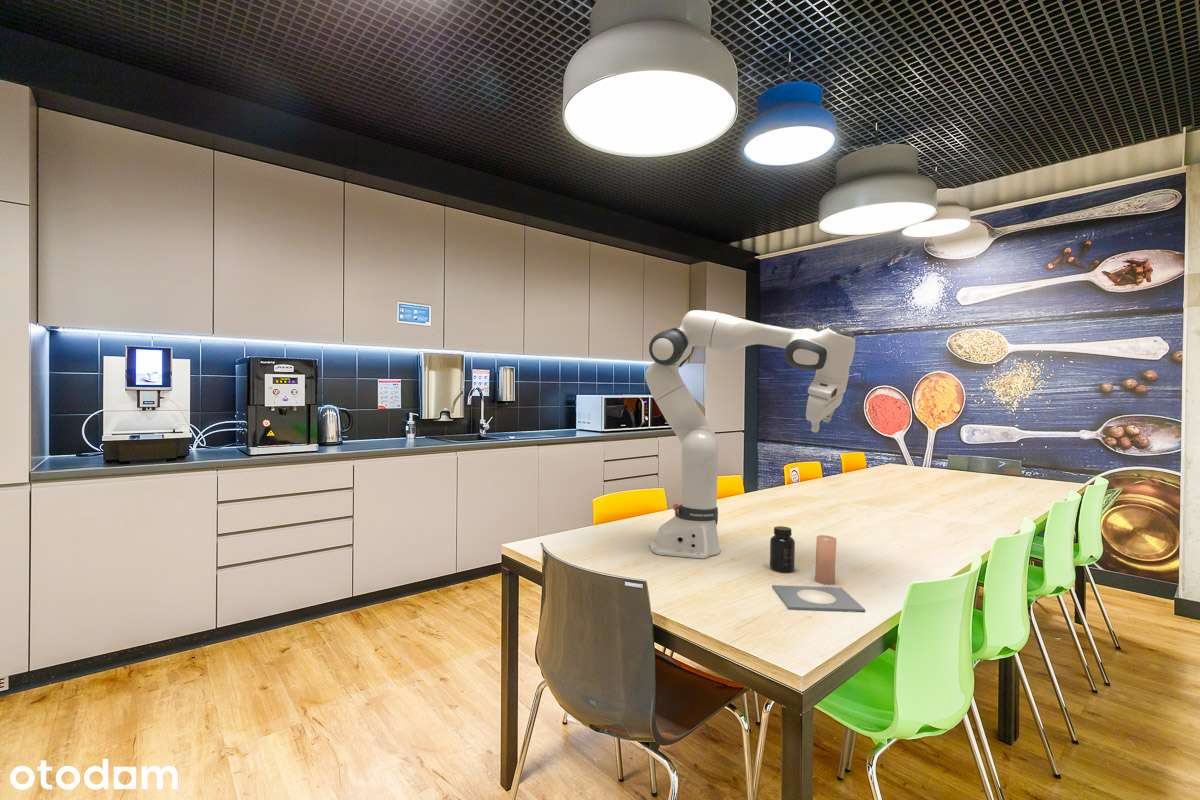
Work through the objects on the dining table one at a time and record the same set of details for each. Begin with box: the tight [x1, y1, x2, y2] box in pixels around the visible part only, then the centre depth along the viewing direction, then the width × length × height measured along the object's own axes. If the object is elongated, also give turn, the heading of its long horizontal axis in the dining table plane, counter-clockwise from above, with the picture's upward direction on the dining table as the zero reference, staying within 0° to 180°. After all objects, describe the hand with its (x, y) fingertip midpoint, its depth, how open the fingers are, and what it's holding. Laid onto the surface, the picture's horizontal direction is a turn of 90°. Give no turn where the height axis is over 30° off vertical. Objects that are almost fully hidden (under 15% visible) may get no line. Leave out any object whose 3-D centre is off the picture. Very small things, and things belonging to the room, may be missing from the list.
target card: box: [771, 584, 866, 612], centre depth 137 cm, size 18×14×1 cm
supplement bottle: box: [769, 525, 796, 573], centre depth 159 cm, size 7×7×12 cm
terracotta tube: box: [814, 534, 837, 586], centre depth 150 cm, size 5×5×12 cm
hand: (820, 426), depth 163 cm, fingers open, 8 cm apart
